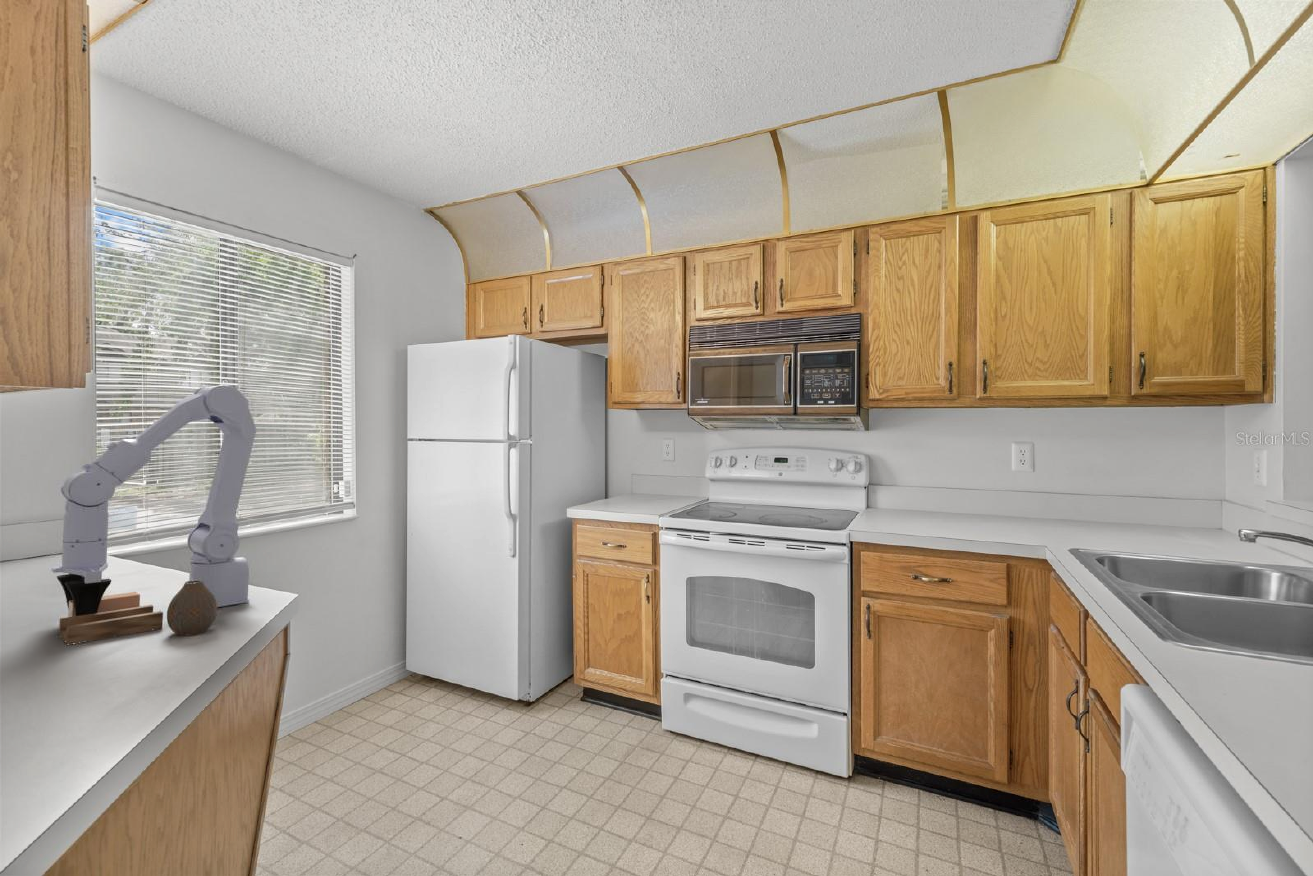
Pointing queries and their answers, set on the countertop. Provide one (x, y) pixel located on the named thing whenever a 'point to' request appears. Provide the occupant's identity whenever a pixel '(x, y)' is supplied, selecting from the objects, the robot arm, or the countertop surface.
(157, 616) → the rack
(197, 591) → the vase
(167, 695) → the countertop surface
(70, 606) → the clay strip
